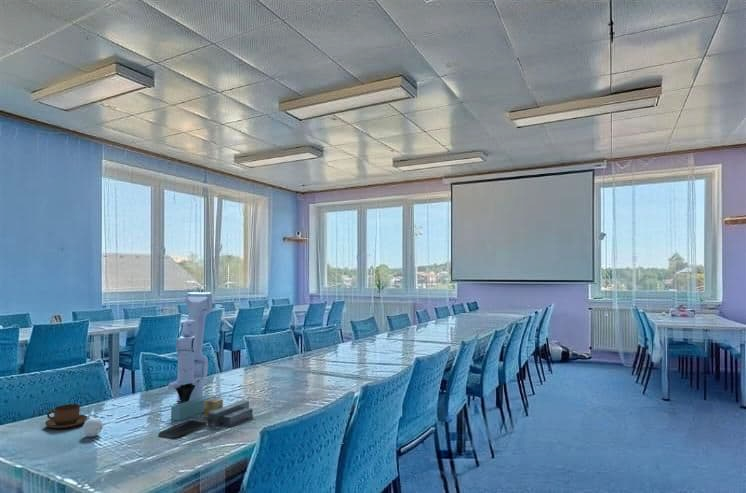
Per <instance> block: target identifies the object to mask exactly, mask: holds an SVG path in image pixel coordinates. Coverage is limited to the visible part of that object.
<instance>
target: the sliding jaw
mask: <svg viewBox="0 0 746 493" xmlns="http://www.w3.org/2000/svg"><path fill="white" fill-rule="evenodd" d="M211 398H217V397H216V395H211V394H206V395H203V396H202V397H199V398H196V399H193V400H190V401H186V402H183V403H181V402H180V403H177V404H174V405H171V406H170V407H171V410H170V419H171V420H175V421H178V422H180V421H183V420H184V419H188V418H190V417H193V416H196V415H199V414H202V413H204V401H206V400H208V399H211Z"/></svg>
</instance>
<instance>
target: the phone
mask: <svg viewBox="0 0 746 493" xmlns="http://www.w3.org/2000/svg"><path fill="white" fill-rule="evenodd" d="M204 426H205V427H207V426H208V422H205V421H198V420H187V421H184V422H181V423H180V424H176V425H175V426H172V427H170V428H167V429H164V430H163V431H160V432H158V437H159V438H160V437H162V438H167V439H173V440H175V439H176V440H177V439H180V438H182V437H185V436H186V435H189V434H191V433H193V431H194V432H195V430H196V431H198V430H200V428H201V429H203V428H205V427H204ZM202 427H203V428H202Z"/></svg>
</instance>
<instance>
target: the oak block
mask: <svg viewBox="0 0 746 493" xmlns="http://www.w3.org/2000/svg"><path fill="white" fill-rule="evenodd" d="M223 402H224V399H222V398H217V397H216V398H211V399H208V400H206V401H204V412H203V418H206V419H208V413H209V412H211V411H214V410H217V409H220V408H222V407H224V406H223V404H224V403H223Z"/></svg>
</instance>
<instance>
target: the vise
mask: <svg viewBox="0 0 746 493" xmlns="http://www.w3.org/2000/svg"><path fill="white" fill-rule="evenodd" d="M253 409H254V408H251V407H250V401H249V400H244V399H242V400H239V401H236V402H233V403H231V404H228V405H226V406H223V407H222V408H220V409H217V410H214V411H211V412H209V413H208V418H207V427H212V428H216V427H219V426H221V425H222V426H226V427H232V426H234V425H237V424H239V423H242V422H244V421H245V420H248V419H251V418H253V411H254V410H253Z"/></svg>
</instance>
